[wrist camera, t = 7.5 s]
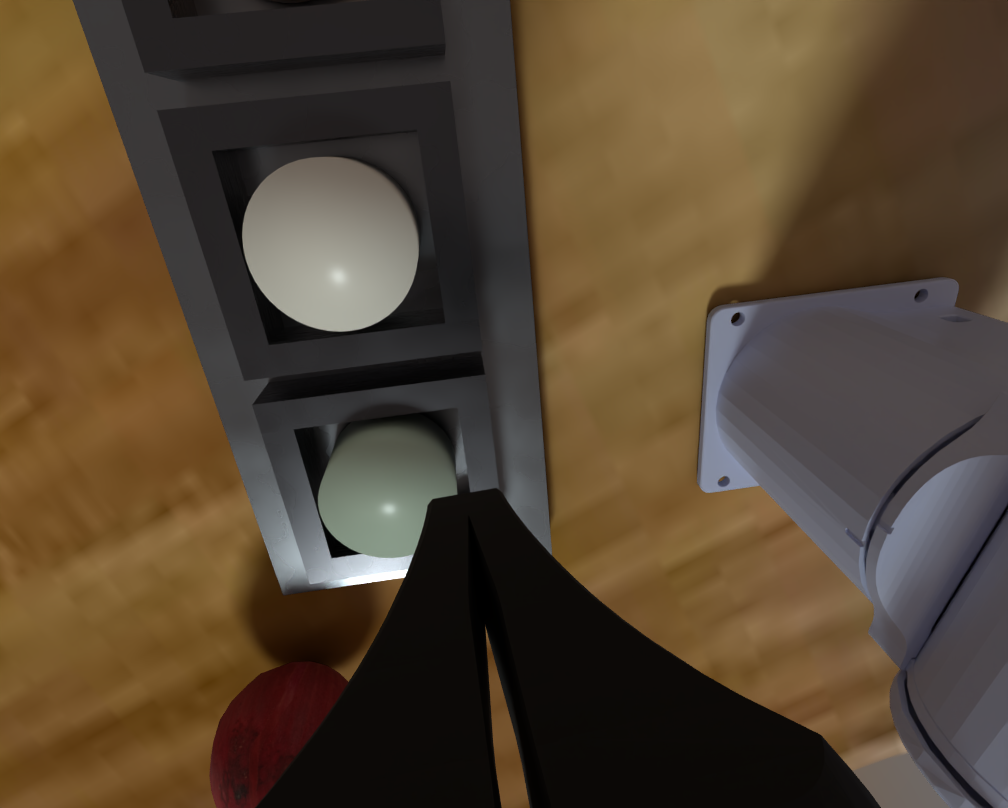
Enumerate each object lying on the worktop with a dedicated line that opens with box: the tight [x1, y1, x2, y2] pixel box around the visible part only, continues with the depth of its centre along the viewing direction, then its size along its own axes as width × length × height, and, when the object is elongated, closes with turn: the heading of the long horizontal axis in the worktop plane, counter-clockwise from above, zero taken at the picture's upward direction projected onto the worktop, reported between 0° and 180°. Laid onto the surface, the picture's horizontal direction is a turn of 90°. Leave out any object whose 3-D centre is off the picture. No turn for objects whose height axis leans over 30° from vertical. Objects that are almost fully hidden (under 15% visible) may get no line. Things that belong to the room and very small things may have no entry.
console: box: [73, 0, 552, 595], centre depth 17 cm, size 11×27×3 cm, turn 5°
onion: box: [210, 661, 348, 808], centre depth 22 cm, size 6×6×8 cm
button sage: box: [318, 413, 457, 558], centre depth 19 cm, size 4×4×2 cm
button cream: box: [242, 156, 421, 332], centre depth 15 cm, size 4×4×2 cm
